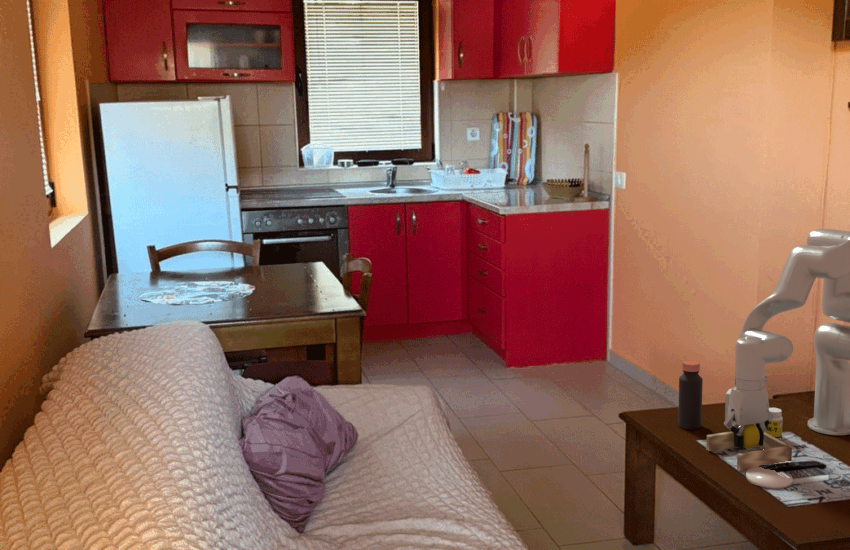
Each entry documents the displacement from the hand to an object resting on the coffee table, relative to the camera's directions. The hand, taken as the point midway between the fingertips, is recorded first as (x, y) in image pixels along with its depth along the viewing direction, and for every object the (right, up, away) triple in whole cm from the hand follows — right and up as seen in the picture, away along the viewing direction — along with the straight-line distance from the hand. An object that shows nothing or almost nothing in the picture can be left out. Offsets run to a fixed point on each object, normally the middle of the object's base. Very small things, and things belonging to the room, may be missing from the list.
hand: (748, 445), depth 224 cm
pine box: (0, -3, 0) cm, 3 cm away
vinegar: (-8, +1, +24) cm, 25 cm away
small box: (+6, +1, +22) cm, 23 cm away
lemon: (0, -2, 0) cm, 1 cm away
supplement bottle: (+12, -1, +13) cm, 17 cm away
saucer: (0, -6, -14) cm, 15 cm away
